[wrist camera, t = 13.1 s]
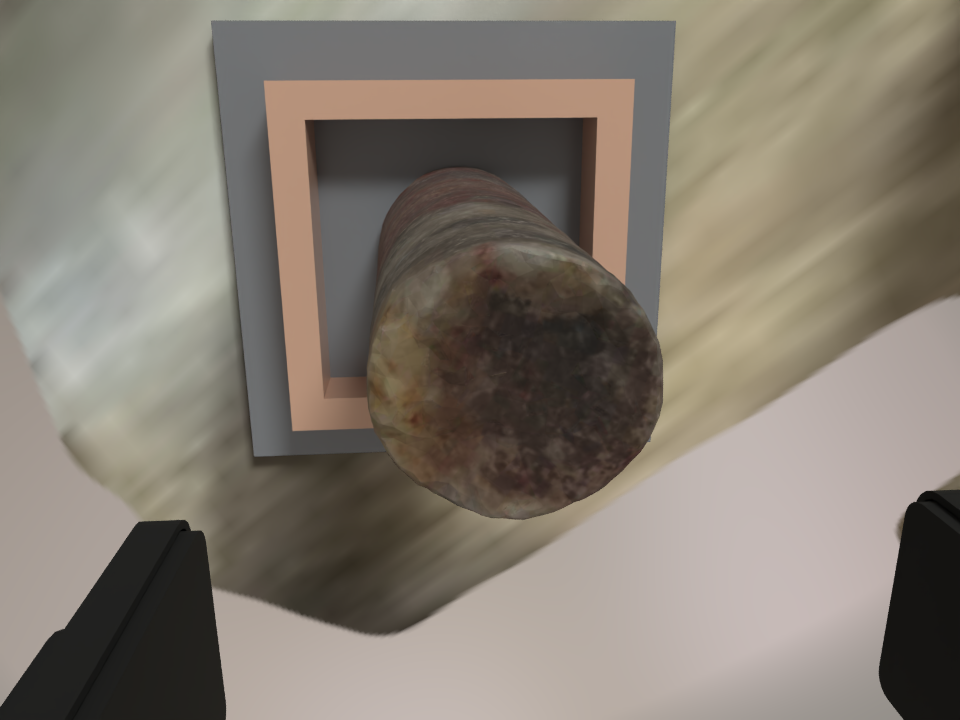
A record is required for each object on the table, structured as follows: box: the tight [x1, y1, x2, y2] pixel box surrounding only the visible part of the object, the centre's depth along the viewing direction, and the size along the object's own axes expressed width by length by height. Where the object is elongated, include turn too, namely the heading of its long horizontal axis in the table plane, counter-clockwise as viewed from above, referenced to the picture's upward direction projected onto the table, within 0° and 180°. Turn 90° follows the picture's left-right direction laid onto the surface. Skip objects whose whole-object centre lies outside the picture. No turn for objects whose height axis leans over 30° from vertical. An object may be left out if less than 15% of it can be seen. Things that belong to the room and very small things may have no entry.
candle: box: [367, 167, 663, 520], centre depth 28 cm, size 8×7×20 cm
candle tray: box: [211, 21, 676, 457], centre depth 37 cm, size 20×20×4 cm
